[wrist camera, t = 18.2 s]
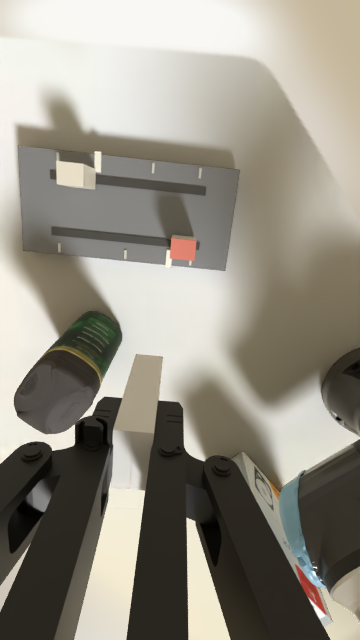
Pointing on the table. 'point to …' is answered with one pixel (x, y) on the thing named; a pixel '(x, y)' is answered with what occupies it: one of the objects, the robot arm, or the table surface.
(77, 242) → the console
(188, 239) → the block
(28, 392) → the coffee jar
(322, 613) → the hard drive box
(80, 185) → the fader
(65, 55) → the table surface
